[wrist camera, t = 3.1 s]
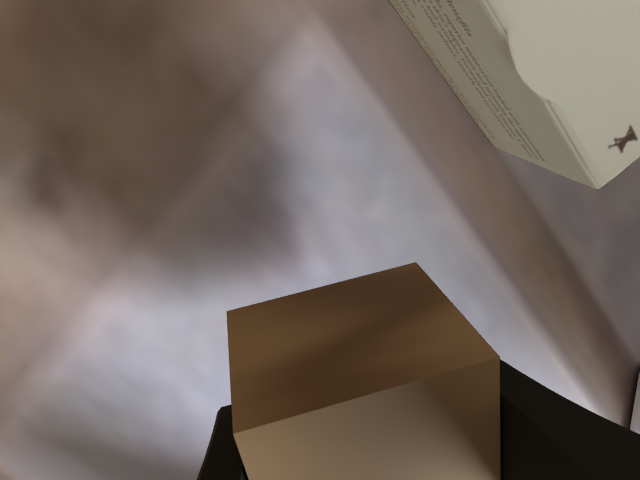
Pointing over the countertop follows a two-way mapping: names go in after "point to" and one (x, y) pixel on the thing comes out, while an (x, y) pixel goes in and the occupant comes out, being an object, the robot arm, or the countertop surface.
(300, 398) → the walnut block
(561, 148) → the small box
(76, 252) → the countertop surface
